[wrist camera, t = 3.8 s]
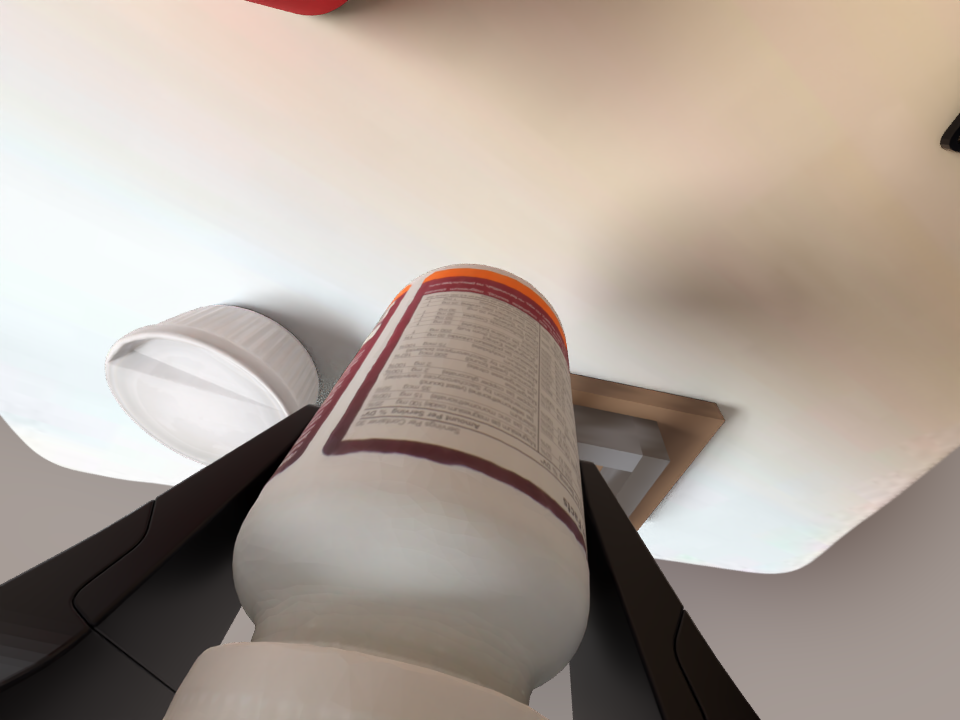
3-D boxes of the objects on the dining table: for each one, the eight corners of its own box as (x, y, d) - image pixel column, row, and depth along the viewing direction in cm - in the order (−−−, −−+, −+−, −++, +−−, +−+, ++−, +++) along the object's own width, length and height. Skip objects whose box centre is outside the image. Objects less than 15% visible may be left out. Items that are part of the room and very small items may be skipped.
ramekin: (278, 271, 22) (217, 317, 18) (361, 411, 28) (330, 469, 24) (137, 304, 25) (54, 351, 21) (240, 425, 31) (193, 479, 27)
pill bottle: (441, 422, 16) (302, 890, 7) (353, 297, 13) (-124, 842, 4) (590, 384, 13) (687, 1004, 4) (526, 222, 10) (426, 1123, 1)
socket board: (715, 403, 23) (747, 462, 20) (631, 515, 31) (643, 572, 28) (430, 344, 24) (410, 392, 20) (417, 471, 31) (402, 522, 28)
